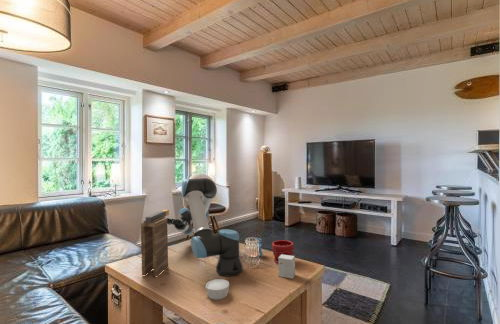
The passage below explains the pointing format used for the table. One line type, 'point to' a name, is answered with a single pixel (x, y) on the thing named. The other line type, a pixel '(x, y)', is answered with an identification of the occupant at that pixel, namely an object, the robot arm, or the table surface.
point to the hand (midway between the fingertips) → (168, 215)
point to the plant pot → (282, 248)
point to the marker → (156, 216)
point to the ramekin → (217, 289)
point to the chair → (259, 246)
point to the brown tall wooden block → (154, 246)
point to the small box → (286, 266)
